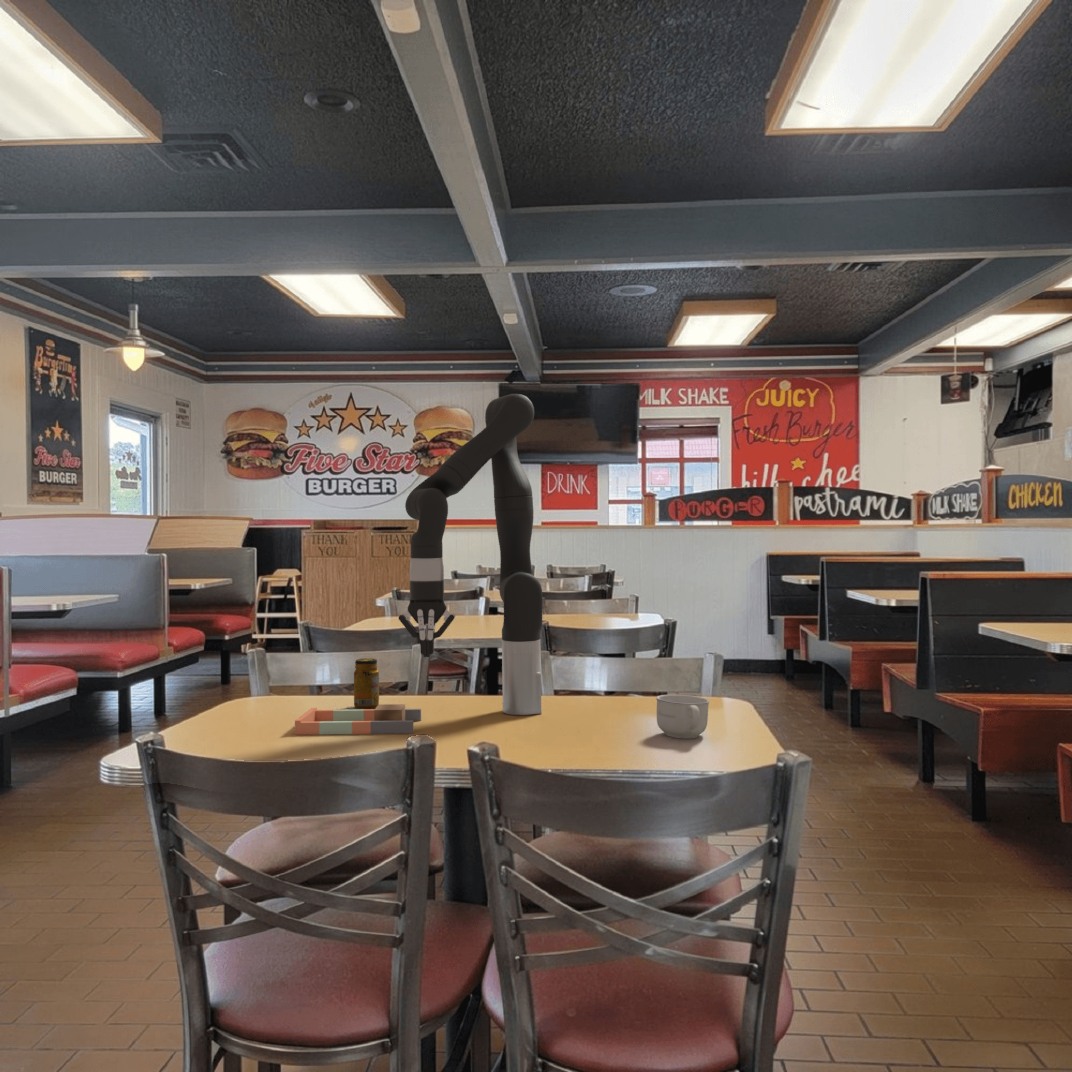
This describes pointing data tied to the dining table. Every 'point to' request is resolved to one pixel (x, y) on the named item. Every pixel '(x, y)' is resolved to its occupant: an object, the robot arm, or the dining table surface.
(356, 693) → the condiment
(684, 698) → the teacup
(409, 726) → the tray
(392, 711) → the block
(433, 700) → the dining table surface
